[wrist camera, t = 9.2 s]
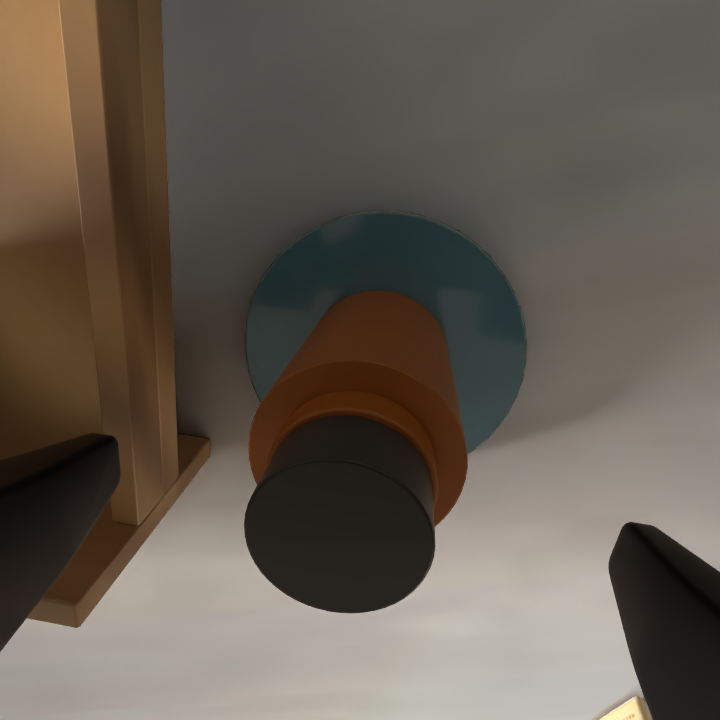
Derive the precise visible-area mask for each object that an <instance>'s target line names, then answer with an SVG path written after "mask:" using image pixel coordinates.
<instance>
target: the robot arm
mask: <svg viewBox="0 0 720 720" xmlns="http://www.w3.org/2000/svg"><path fill="white" fill-rule="evenodd" d="M120 477H121V470H120V459H119V448H118V442H117V440H116V438H115V437H113V436H111V435H105V434H99V433H89V434H86V435H82V436H79V437H76V438H72V439H69V440H66V441H63V442H59V443H56V444H53V445H50V446H46V447H43V448H40V449H36V450H33V451H30V452H27V453H23V454H20V455H17V456H14V457H10V458H7V459H4V460H0V652H1V650H2V649H3V648H4V646H5V645H6V644H7V643H8V641H9V640H10V639H11V637H12V636H13V635H14V633H15V632H16V631H17V630H18V628H19V627H20V626H21V624H22V623H23V622H24V621H25V619H26V618H27V617H28V615H29V614H30V613H31V612H32V610H33V609H34V608H35V606H36V605H37V604H38V603H39V601H40V600H41V599H42V597H43V596H44V595H45V594H46V592H47V591H48V590H49V588H50V587H51V586H52V585H53V583H54V582H55V581H56V579H57V578H58V577H59V576H60V574H61V573H62V571H63V570H64V569H65V567H66V566H67V565H68V563H69V562H70V561H71V559H72V558H73V556H74V555H75V553H76V552H77V550H78V549H79V547H80V546H81V544H82V542H83V541H84V539H85V538H86V536H87V535H88V533H89V531H90V530H91V528H92V527H93V525H94V524H95V522H96V520H97V519H98V517H99V516H100V514H101V512H102V511H103V509H104V508H105V506H106V505H107V503H108V501H109V500H110V498H111V497H112V495H113V494H114V492H115V490H116V489H117V487H118V485H119V482H120ZM609 574H610V579H611V582H612V586H613V590H614V594H615V598H616V602H617V606H618V610H619V613H620V617H621V621H622V625H623V629H624V633H625V637H626V641H627V644H628V648H629V652H630V655H631V659H632V662H633V666H634V669H635V672H636V675H637V678H638V680H639V683H640V686H641V689H642V692H643V694H644V697H645V700H646V703H647V705H648V708H649V711H650V713H651V716H652V719H653V720H720V572H719V571H718V570H716V569H715V568H713V567H712V566H710V565H709V564H708V563H706V562H705V561H703V560H702V559H700V558H699V557H698V556H696V555H695V554H693V553H692V552H690V551H689V550H688V549H686V548H685V547H683V546H682V545H680V544H679V543H678V542H676V541H675V540H673V539H672V538H670V537H669V536H668V535H666V534H665V533H663V532H662V531H660V530H659V529H658V528H656V527H654V526H651V525H646V524H640V523H634V522H629V523H626V524H625V525H624V526H623V527H622V529H621V531H620V534H619V536H618V539H617V541H616V544H615V546H614V549H613V551H612V554H611V556H610V559H609Z"/></svg>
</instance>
